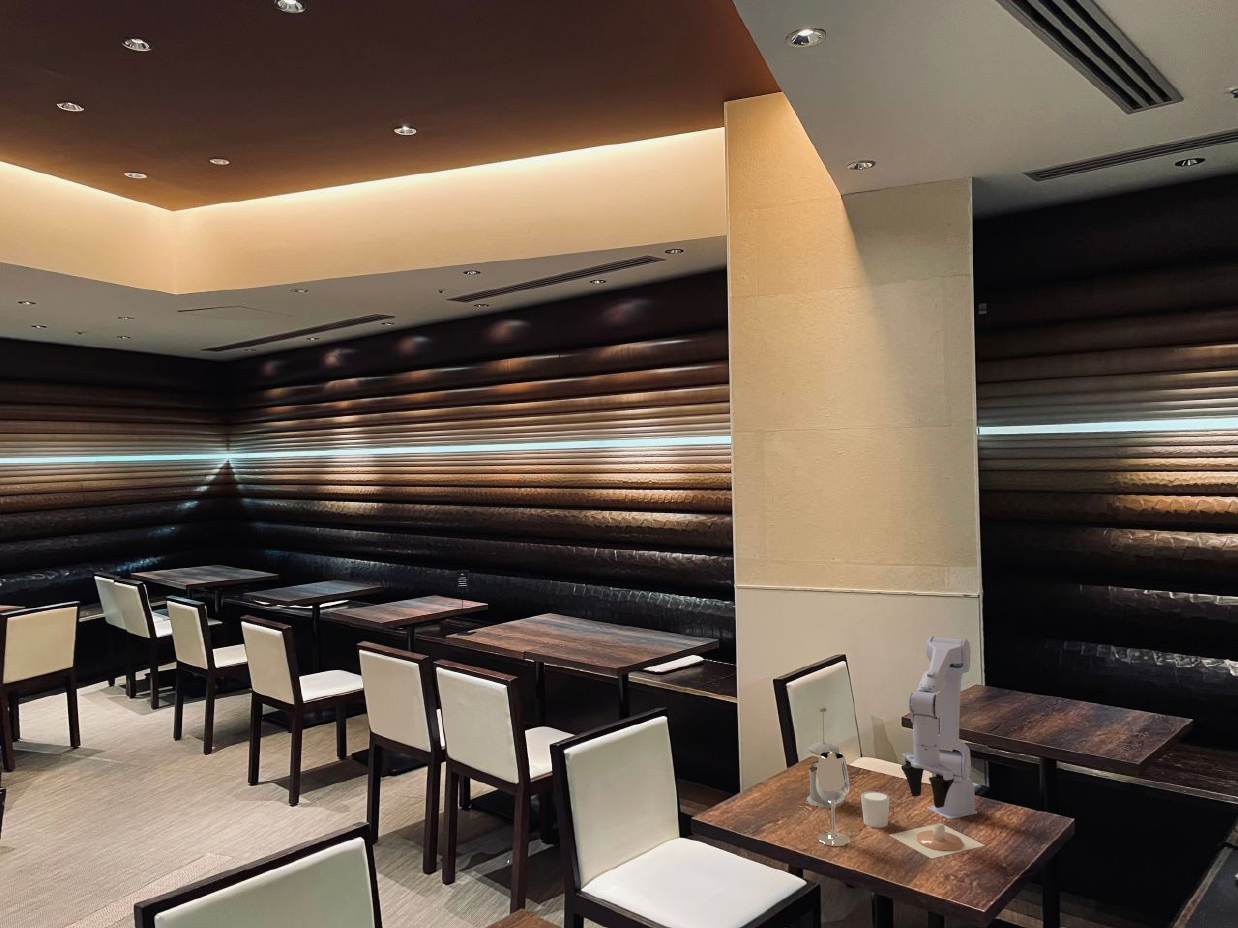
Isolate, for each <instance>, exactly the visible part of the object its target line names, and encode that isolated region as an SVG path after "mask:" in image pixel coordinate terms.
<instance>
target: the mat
mask: <svg viewBox="0 0 1238 928" xmlns="http://www.w3.org/2000/svg"><path fill="white" fill-rule="evenodd" d="M938 824H940V825H943V826H944V827H945V832H948V833H951V834H954V835H956V836H958V837H959V838H960V839H961V840H962V847H961V848H960V849H958V850H953V851H939V850H934V849H930V848H927V847H925V846H923V845H921V844H920V843H918V841H917V834H918V833H920V832H923V831H929V830H933V825H934V824H931V825H930V824H929V825H927V826H923V827H918V828H914V829H909V830H904V831H900V832H895V833H891V834H888V836H890V837H891V838H892V839H894V840H897V841H899V842H900V843H902V844H904V845H906V846H907V847H910V848H911V849H913V850H915V851H917V852H919V853H920V854H921V855H924V856H925V857H927V858H929V859H931V860H932V859H936V858H940V857H945V856H949V855H953V854H957V853H961V852H964V851H968V850H969V851H970V850H974V849H977V848H982V847H986V845H985V844H984V843H981V842H979V841H977V840H975V839H973V838H971V837H969V836H967V835H964V834H963V833H961V832H959V831H956V830H955V829H953V828H951V827H949V826H947V825H945V824H943V823H938Z"/></svg>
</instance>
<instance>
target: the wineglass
mask: <svg viewBox="0 0 1238 928" xmlns="http://www.w3.org/2000/svg"><path fill="white" fill-rule="evenodd" d="M844 758H845V755H844V754H842V753H840V752H839V753H838V752H823V753H821V754H820V755H819V758H818V760H819V762H818V767H817V770H816V772H817V773H816V772H815V773H816V789H817V792H818V794H819V796H820V797H821V798H822V799H823V800H824V801H826V802H827V803H829V804H830V805H831V808H830V809H831V831H826V832H821V833H819V834H818V835H817V840H818V841H819V842H820V843H822V844H823V845H826V846H829V847H844V846H847V845H848V843H850V842H851V839H850V837H849V836H848V835H846V834H844V833H841V832H836V831H837V830H836V817H835V816H836V815H835V814H836V811H835V810H836V807H835V806H836V804H838V803H840V802H842V801H843V802H844V801H845V800H846V798H847V797H848V796H849V792H850V779H849V777H850V776H849V772H848V767H847V762H846V763H845V760H846V758H845V759H844Z"/></svg>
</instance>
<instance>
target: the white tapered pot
mask: <svg viewBox="0 0 1238 928" xmlns="http://www.w3.org/2000/svg"><path fill="white" fill-rule="evenodd" d="M860 794H861V795H860V799H861V800H860V801H861V808H862V817H863V823H864V825H866V826H868V827H871V828H885V827H887V826H888V823H889V813H890V811H889V810H890V796H889V795H888V794H886V793H883V792H880V791H865V792H863V793H860Z"/></svg>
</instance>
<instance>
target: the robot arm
mask: <svg viewBox="0 0 1238 928" xmlns="http://www.w3.org/2000/svg"><path fill="white" fill-rule="evenodd" d="M926 656H927V658H928V661H929V663H930V664H929V667H928V670H926V671H925V672H923V674H922V676H921V678H920V680H919V684H918V686H917V689H916V690H914V691H913V692H910V694H909V698H908V699H909V701H908V710H909V714H910V722H911V724H912V735H913V737H912V740H913V753H911V752H903V753H902V755H901V756H902V759H901V760H902V762H904V763H905V764H902V765H901V770H902V772H903V774H904V776H905V777H906V780H907V782H908V786H909V789H910V793H911V797H919V796H921V795H922V780H923V775H924V771H927V772H929V773H930V774H931V777H928V781H929V782H930V785H931V789H932V793H933V803H934V805H930V806H927V807H926V808H927V810H929V811H931V812H933V813H936V814H938V815H940V816H942V817H944V818H946V819H949V820H953V819H958V818H962V817H966V816H971V815H977V814H978V811H977V810H976V805H975V804H976V802H975V801H976V800H975V785H974V783H973V779H971V778H970V775H971V769H972V761H971V760H972V759H971V751H970V748H969V746H968V745H967V744H966V743H964V742H963V741H962V740H961V739H960V718H961V715H960V714H961V695H962V694H961V690H962V679H963V674H965V673H968V672H970V667H971V645H970V642H969V640H968V639H967V638H966V639H965V638H963V639H962V638H961V639H959V638H951V637H950V638H949V637H938V636H933V635H931V636H929V637H928V639H927V641H926ZM940 748H941V749H940ZM945 749H946V750H945ZM947 749H949V750H947ZM952 750H955V751H952ZM958 751H959V752H958Z"/></svg>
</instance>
